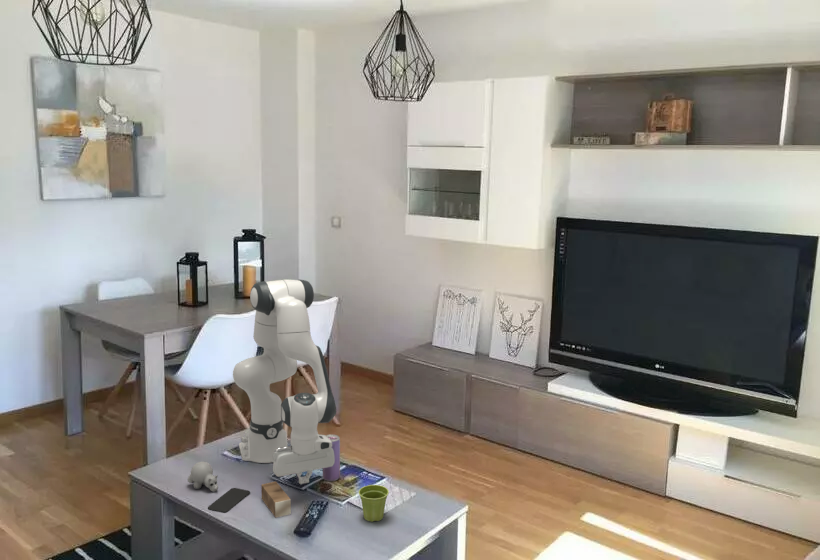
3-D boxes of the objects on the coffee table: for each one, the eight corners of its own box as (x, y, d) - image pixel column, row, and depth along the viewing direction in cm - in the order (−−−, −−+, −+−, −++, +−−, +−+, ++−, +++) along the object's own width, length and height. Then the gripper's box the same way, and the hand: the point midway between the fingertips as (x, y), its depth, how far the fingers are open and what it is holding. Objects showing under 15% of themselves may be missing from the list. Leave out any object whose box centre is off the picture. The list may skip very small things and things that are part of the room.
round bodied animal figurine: (205, 503, 236) (210, 483, 232) (183, 480, 241) (188, 461, 238) (222, 494, 242) (227, 475, 238) (201, 473, 247) (206, 454, 244)
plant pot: (378, 527, 218) (378, 501, 216) (352, 519, 222) (352, 493, 221) (393, 514, 226) (394, 489, 224) (368, 507, 230) (369, 482, 229)
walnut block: (275, 517, 222) (261, 498, 234) (290, 514, 225) (276, 495, 237) (275, 503, 221) (261, 484, 233) (290, 499, 224) (276, 481, 236)
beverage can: (336, 482, 246) (337, 441, 244) (320, 480, 248) (320, 440, 245) (341, 475, 252) (342, 435, 250) (325, 473, 253) (325, 433, 251)
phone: (205, 508, 227) (232, 487, 240) (206, 510, 227) (232, 489, 241) (226, 512, 224) (251, 491, 238) (226, 514, 224) (251, 493, 238)
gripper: (276, 452, 223) (276, 493, 226) (336, 442, 233) (336, 481, 236) (270, 445, 229) (270, 484, 232) (329, 434, 238) (328, 473, 241)
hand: (303, 482), depth 234 cm, fingers closed
